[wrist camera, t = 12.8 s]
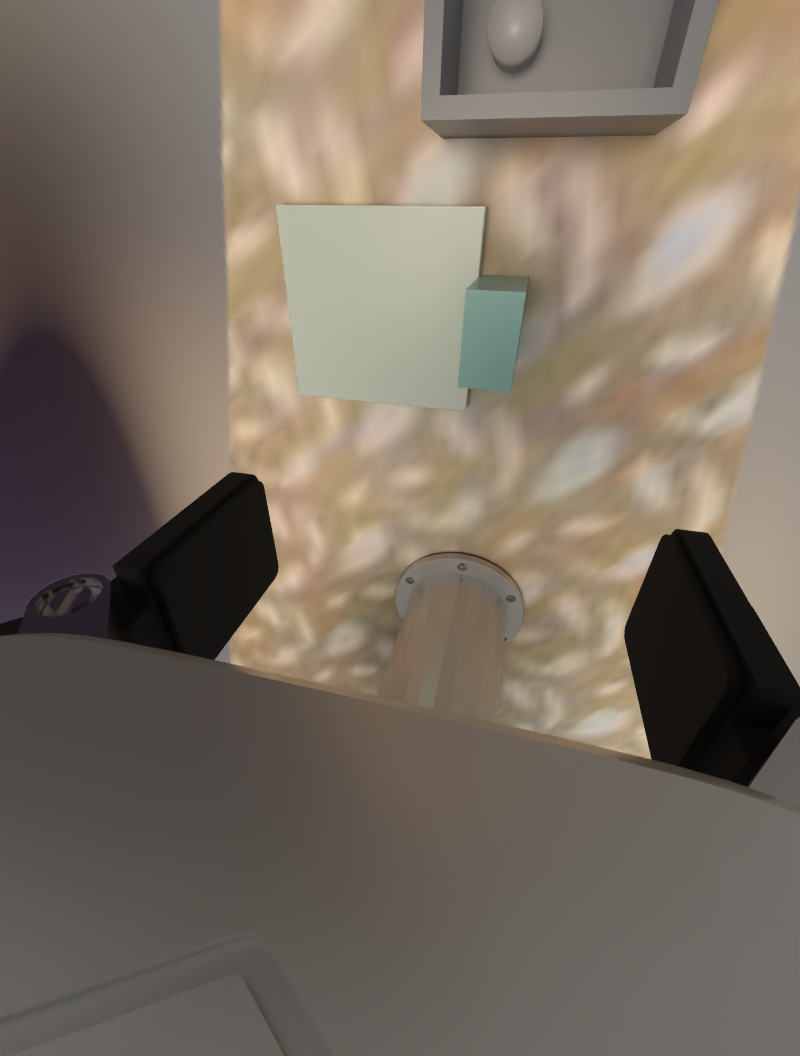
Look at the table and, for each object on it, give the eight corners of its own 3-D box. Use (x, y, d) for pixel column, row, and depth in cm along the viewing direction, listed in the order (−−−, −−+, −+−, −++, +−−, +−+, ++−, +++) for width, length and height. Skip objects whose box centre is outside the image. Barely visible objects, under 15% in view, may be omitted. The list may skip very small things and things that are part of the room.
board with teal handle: (305, 389, 36) (262, 422, 30) (284, 205, 29) (223, 202, 23) (508, 409, 33) (501, 449, 27) (539, 207, 26) (539, 205, 20)
